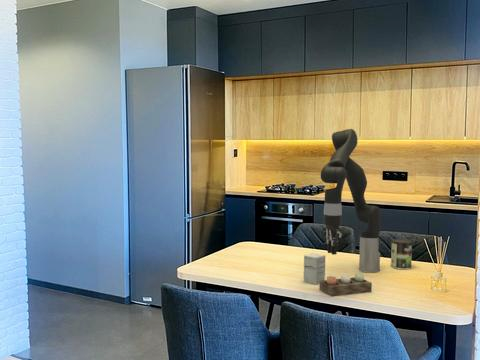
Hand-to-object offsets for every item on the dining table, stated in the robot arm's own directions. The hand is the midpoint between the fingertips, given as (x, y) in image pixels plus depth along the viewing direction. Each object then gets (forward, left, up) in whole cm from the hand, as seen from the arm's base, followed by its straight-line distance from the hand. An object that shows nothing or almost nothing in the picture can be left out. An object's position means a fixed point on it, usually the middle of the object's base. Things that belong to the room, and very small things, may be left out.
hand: (331, 253), depth 205 cm
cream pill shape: (-7, 0, -14) cm, 15 cm away
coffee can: (-57, -26, -17) cm, 65 cm away
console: (-7, 0, -17) cm, 18 cm away
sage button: (-14, 0, -14) cm, 20 cm away
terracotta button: (0, 0, -14) cm, 14 cm away
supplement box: (-1, -17, -17) cm, 24 cm away
